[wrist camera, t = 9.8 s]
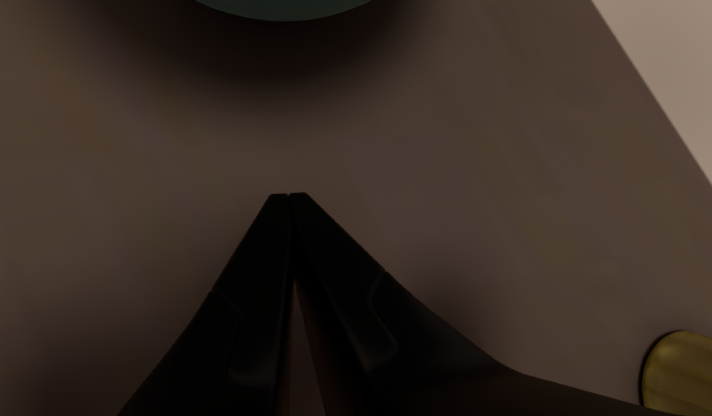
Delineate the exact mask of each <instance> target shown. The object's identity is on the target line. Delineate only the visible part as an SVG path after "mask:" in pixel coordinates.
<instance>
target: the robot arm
mask: <svg viewBox="0 0 712 416" xmlns="http://www.w3.org/2000/svg"><path fill="white" fill-rule="evenodd" d="M294 281H295V286H296V291H297V296H298V300H299V304H300V308H301V312H302V317H303V321H304V325H305V329H306V334H307V338H308V342H309V346H310V350H311V355H312V359H313V363H314V367H315V372H316V376H317V380H318V384H319V388H320V393H321V397H322V401H323V405H324V410H325V414H326V416H686V415H680V414H673V413H668V412H664V411H659V410H655V409H651V408H647V407H643V406H640V405H636V404H632V403H629V402H625V401H621V400H617V399H614V398H610V397H606V396H603V395H599V394H595V393H592V392H588V391H584V390H581V389H577V388H573V387H570V386H566V385H562V384H559V383H555V382H551V381H548V380H544V379H540V378H536V377H533V376H529V375H526V374H523V373H520V372H518V371H515V370H513V369H511V368H509V367H507V366H505V365H503V364H502V363H500V362H498V361H497V360H495V359H494V358H492V357H491V356H489V355H488V354H487V353H485V352H484V351H483V350H481V349H480V348H479V347H477V346H476V345H475V344H474V343H472V342H471V341H470V340H468V339H467V338H466V337H465V336H463V335H462V334H461V333H459V332H458V331H457V330H456V329H454V328H453V327H452V326H450V325H449V324H448V323H447V322H445V321H444V320H443V319H441V318H440V317H439V316H438V315H436V314H435V313H434V312H432V311H431V310H430V309H429V308H428V307H426V306H425V305H424V304H423V303H421V302H420V301H419V300H418V299H417V298H415V297H414V296H413V295H412V294H411V293H410V292H409V291H408V290H407V289H405V288H404V287H403V286H402V285H401V284H400V283H399V282H398V281H397V280H396V279H395V278H394V277H393V276H392V275H391V274H390V273H388V272H387V271H385V269H384V268H383V267H382V266H381V265H380V264H379V263H378V262H377V261H376V260H375V259H374V258H373V257H372V256H371V255H370V254H369V253H368V252H367V251H366V250H365V249H364V248H363V247H362V246H360V245H359V244H358V243H357V242H356V241H355V240H354V239H353V238H352V237H351V236H350V235H349V234H348V233H347V232H346V231H345V230H344V229H343V228H342V227H341V226H340V225H339V224H338V223H337V222H336V221H335V220H334V219H333V218H332V217H331V216H330V215H329V214H328V213H327V212H325V211H324V210H323V209H322V208H321V207H320V206H319V205H318V204H317V203H316V202H315V201H314V200H313V199H312V198H311V197H310V196H309V195H308V194H307V193H305V192H300V193H290V194H289V195H287V194H286V193H282V194H271V195H269V197H268V198H267V200H266V202H265V203H264V205H263V206H262V208H261V210H260V211H259V213H258V215H257V216H256V218H255V219H254V221H253V223H252V224H251V226H250V227H249V229H248V231H247V232H246V234H245V235H244V237H243V239H242V240H241V242H240V243H239V245H238V247H237V248H236V250H235V252H234V253H233V255H232V256H231V258H230V260H229V261H228V263H227V264H226V266H225V268H224V269H223V271H222V272H221V274H220V276H219V277H218V279H217V281H216V282H215V284H214V285H213V287H212V291H210V292H209V293H208V295H207V296H206V298H205V300H204V301H203V303H202V304H201V306H200V307H199V309H198V310H197V312H196V313H195V315H194V316H193V318H192V319H191V321H190V322H189V324H188V325H187V327H186V328H185V330H184V331H183V332H182V333H181V335H180V336H179V337H178V339H177V340H176V341H175V343H174V344H173V345H172V346H171V348H170V349H169V350H168V352H167V353H166V354H165V355H164V357H163V358H162V359H161V360H160V362H159V363H158V364H157V365H156V367H155V368H154V369H153V370H152V372H151V373H150V374H149V375H148V377H147V378H146V379H145V380H144V382H143V383H142V384H141V385H140V386H139V388H138V389H137V390H136V391H135V393H134V394H133V395H132V396H131V398H130V399H129V400H128V401H127V403H126V404H125V405H124V406H123V408H122V409H121V410H120V411H119V413H118V414H117V415H116V416H289V398H290V373H291V349H292V325H293V301H294Z"/></svg>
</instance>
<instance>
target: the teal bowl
mask: <svg viewBox="0 0 712 416" xmlns="http://www.w3.org/2000/svg"><path fill="white" fill-rule="evenodd" d="M195 1H197V2H199V3H202V4H204V5H206V6H209V7H211V8H214V9H217V10H220V11H223V12H226V13H230V14H234V15H238V16H242V17H246V18H252V19H259V20H265V21H281V22H284V21H303V20H311V19H317V18H322V17H327V16H331V15H334V14H338V13H341V12H344V11H348V10H350V9H353V8H355V7H358V6H360V5H363V4H365V3H367V2H369V1H371V0H195Z"/></svg>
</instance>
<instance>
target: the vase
mask: <svg viewBox="0 0 712 416" xmlns="http://www.w3.org/2000/svg"><path fill="white" fill-rule="evenodd" d="M642 397H643V404H644V407H647V408H651V409H655V410H659V411H664V412H668V413H673V414H680V415H686V416H712V338H709V337H707V336H704V335H700V334H698V333H694V332H690V331H679V332H675V333H672V334H669V335H667V336H666V337H664V338H663V339H661V340H660V341H659V342H658V343H657V344H656V345H655V347H654V348H653V349H652V351H651V352H650V354H649V356H648V358H647V361H646V364H645V367H644V372H643V377H642Z"/></svg>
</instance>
